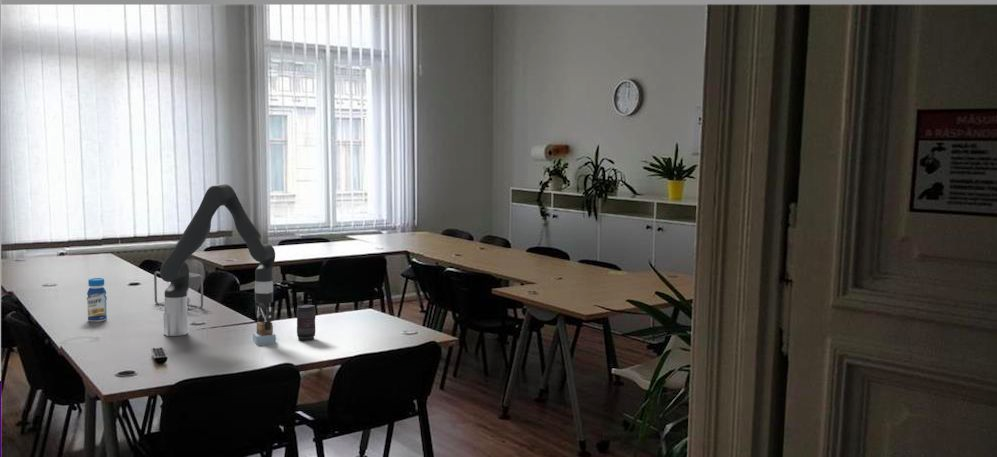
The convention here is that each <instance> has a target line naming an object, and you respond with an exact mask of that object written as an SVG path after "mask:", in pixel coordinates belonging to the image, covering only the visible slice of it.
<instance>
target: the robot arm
mask: <svg viewBox="0 0 997 457" xmlns="http://www.w3.org/2000/svg"><path fill="white" fill-rule="evenodd" d="M223 206H224V207H225V208H226V209H227V210H228V211H229V213H230V214H231V216H232V219H233V222H234V225H235V229H236V231H237V232H238V234H239V236H240V237H241V238H242V240H243V241H244V243H245V244H246V247H247V249H248V252H249V254H250V256H251V257H252V259H253V260H254V261H256V262H259V264H258V267H256V268H255V271H254V274H255V275H254V277H255V278H254V279H255V281H254V283H255V284H254V302H255V317H256V318H257V322H262V321H265V330H271V323H272V321H274V307H273V306H271V305H270V303H273V302H274V283H273V268H274V264H275V260H276V259H275V258H276V251H275V248H274V246H272V245H271V244H268V243H267V244H262V242H261V239H262V236H261V233H260V232H259V230H258V229H257V228H256V226H255V224H253V223H252V221H251V219H250V218H249V216H248V214H247V212H246V210H244V207H243V205H242V203H241V202H240V199H239V198H238V196H237V193H236V192H235V190H234V189H233V187H232V186H231V185H229V184H227V183H221V184H219V183H218V184H213V185H211V186H210V187H208V189H207V190H206V192H205V194H204V196H203V198H202V200H201V202H200V205H199V206H198V208H197V210H196V212H195V214H194V215H193V217H192V218H191V220H190V222H189V223H188V225H187V226H186V228H185V230H184V232H183V233H182V235H181V237H180V238H179V240H178V241H177V244H175V246H174V248H173V250H172V252H171V253H170V254H169V255H168V257H167V258H166V259H165V260H164V262H163V263H162V265H161V267H160V270H159V272H160V274H159V277H160V278H161V279H162V281H164V282H167V283H170V284H169V285H168V286H169V287H167V288H165V290H164V302H165V303H164V304H165V306H164V312H163V334H164V335H165V336H166V337H179V336H185V335H187V334H188V331H189V330H188V310H187V309H188V305H187V297H188V295H187V293H188V292H189V289H188V288H189V287H190V283H189V281H190V275H189V273H190V268H189V265H188V263H187V262H186V261H187V260H188V259H189V257H190V256H192V255H193V254H194V253H195V252H196V251H198V250H199V249H200V248H201V247H202V245H203V244H204V243H205V241H206V240H207V238H208V236H209V235H210V232H211V227H212V219H213V217H214V215H215V213H216V212H217V210H218V209H219V208H220V207H223Z"/></svg>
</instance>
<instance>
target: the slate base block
mask: <svg viewBox="0 0 997 457" xmlns="http://www.w3.org/2000/svg"><path fill="white" fill-rule="evenodd" d="M276 336H277V335H276V333H274V331H273V332H272V334H271V335H263V336H261V335H259V334H257V331H255V332H252V341H253V343H254V344H255V345H256V346H261V345H263V346H264V345H273V344H274V343H275V344H276V342H277V341H276V340H277V338H276Z"/></svg>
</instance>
